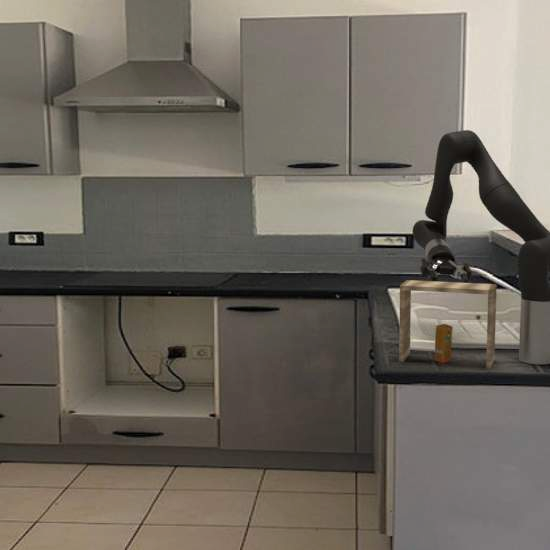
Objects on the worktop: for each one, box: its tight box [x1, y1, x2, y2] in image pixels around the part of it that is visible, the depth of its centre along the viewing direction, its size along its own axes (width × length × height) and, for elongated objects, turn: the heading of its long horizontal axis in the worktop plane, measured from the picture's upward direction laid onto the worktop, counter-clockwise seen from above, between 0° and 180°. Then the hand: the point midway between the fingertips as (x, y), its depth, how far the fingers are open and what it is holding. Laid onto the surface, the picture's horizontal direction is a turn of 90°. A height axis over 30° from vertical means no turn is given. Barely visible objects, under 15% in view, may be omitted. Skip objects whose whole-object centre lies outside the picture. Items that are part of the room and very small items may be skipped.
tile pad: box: [410, 342, 435, 353], centre depth 244 cm, size 11×11×1 cm
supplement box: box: [434, 323, 453, 364], centre depth 227 cm, size 3×4×10 cm
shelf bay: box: [398, 279, 498, 370], centre depth 225 cm, size 24×9×21 cm, turn 70°
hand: (450, 281), depth 234 cm, fingers open, 8 cm apart
